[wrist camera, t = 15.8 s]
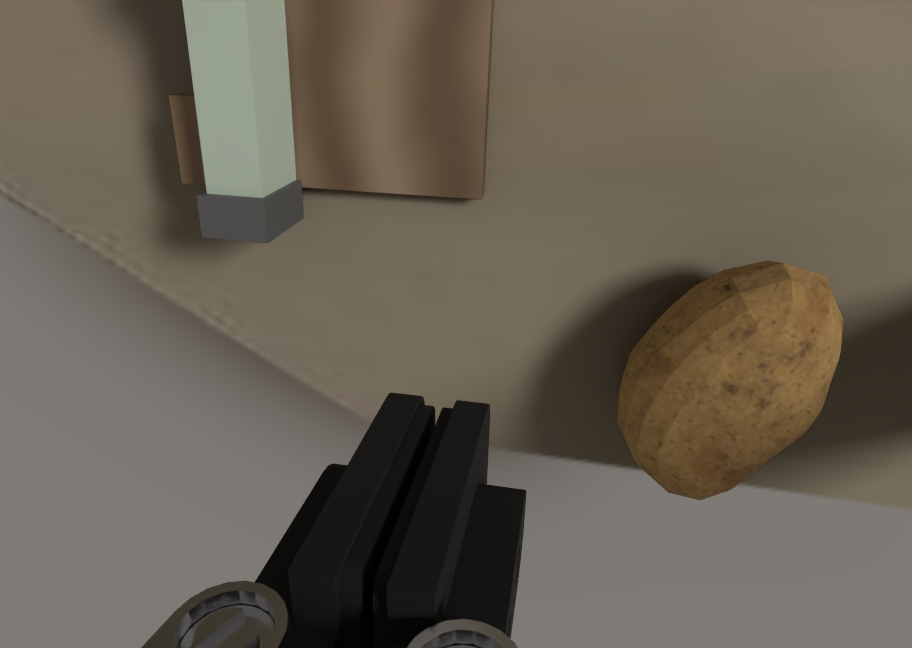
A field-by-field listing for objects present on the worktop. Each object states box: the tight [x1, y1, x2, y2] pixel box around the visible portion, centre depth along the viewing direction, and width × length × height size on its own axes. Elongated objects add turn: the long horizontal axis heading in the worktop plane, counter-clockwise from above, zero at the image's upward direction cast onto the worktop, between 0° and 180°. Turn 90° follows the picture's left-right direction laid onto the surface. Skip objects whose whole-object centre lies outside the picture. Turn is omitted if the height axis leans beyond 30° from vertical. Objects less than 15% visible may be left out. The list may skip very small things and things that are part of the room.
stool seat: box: [169, 0, 494, 199], centre depth 30 cm, size 16×17×8 cm
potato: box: [617, 261, 843, 500], centre depth 34 cm, size 10×14×8 cm
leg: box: [182, 0, 304, 243], centre depth 31 cm, size 16×4×5 cm, turn 177°
